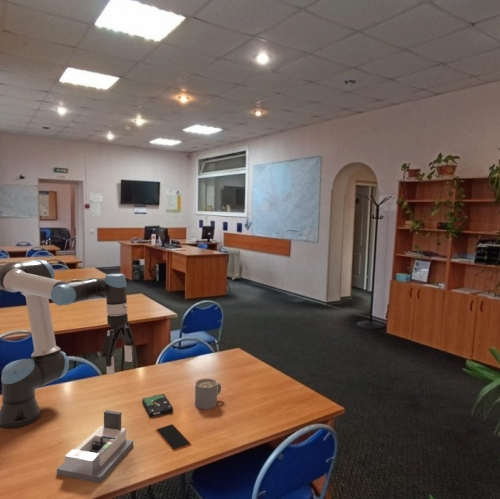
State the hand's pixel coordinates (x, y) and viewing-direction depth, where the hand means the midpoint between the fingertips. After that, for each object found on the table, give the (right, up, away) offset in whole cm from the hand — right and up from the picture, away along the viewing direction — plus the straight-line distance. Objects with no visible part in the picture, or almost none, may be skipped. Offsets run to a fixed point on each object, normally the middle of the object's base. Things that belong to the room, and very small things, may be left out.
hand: (120, 367), depth 154 cm
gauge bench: (-3, -27, -15) cm, 32 cm away
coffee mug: (+32, -25, +27) cm, 49 cm away
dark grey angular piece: (-1, -25, -14) cm, 29 cm away
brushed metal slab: (-4, -26, -24) cm, 36 cm away
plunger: (-1, -25, -9) cm, 26 cm away
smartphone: (+21, -27, -1) cm, 35 cm away
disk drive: (+9, -25, +22) cm, 34 cm away
